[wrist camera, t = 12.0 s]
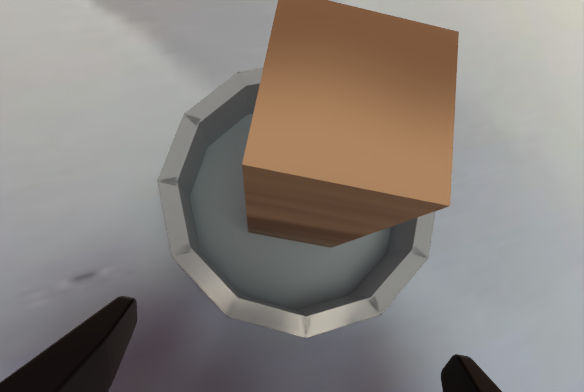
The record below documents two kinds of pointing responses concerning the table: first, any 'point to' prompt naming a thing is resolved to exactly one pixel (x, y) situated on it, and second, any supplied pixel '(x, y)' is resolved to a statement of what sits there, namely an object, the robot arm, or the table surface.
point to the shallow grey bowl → (264, 249)
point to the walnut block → (349, 124)
